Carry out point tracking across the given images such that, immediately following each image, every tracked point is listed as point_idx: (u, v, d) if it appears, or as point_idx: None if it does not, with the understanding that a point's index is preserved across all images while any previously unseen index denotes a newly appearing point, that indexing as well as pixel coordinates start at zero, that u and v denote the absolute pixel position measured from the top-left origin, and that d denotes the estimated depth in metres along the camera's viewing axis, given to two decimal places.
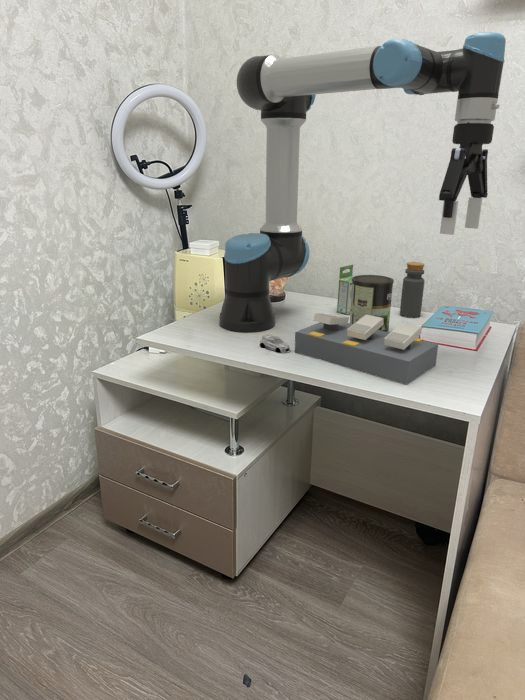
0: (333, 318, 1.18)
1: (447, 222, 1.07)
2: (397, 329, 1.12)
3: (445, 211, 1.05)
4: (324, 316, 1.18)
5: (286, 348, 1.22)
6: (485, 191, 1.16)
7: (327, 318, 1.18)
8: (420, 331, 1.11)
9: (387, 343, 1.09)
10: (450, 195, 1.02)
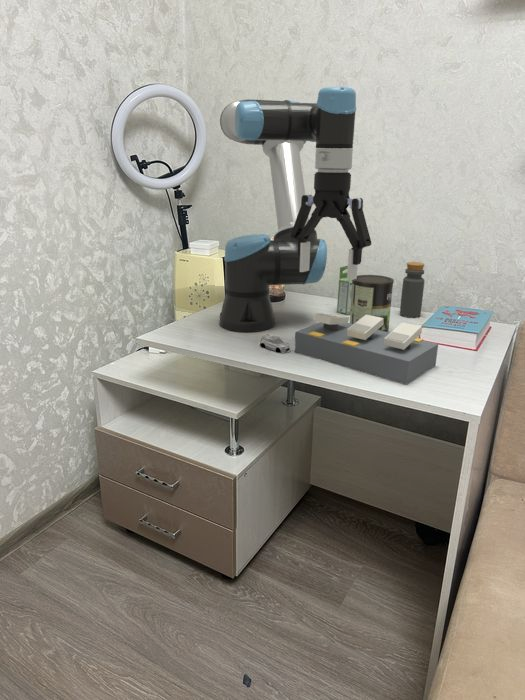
0: (333, 318, 1.18)
1: None
2: (397, 329, 1.12)
3: None
4: (324, 316, 1.18)
5: (286, 348, 1.22)
6: (361, 244, 1.07)
7: (327, 318, 1.18)
8: (420, 331, 1.11)
9: (387, 343, 1.09)
10: None
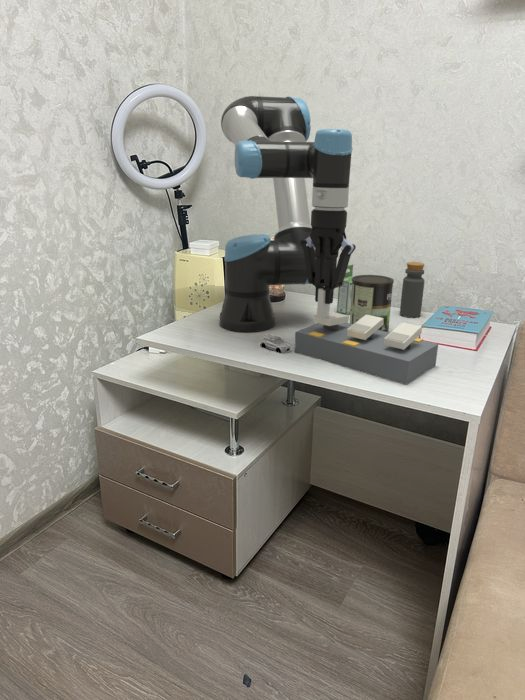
0: (333, 319, 1.18)
1: None
2: (397, 329, 1.12)
3: None
4: (324, 318, 1.18)
5: (287, 348, 1.22)
6: (332, 284, 1.13)
7: (327, 320, 1.18)
8: (420, 331, 1.11)
9: (387, 343, 1.09)
10: None
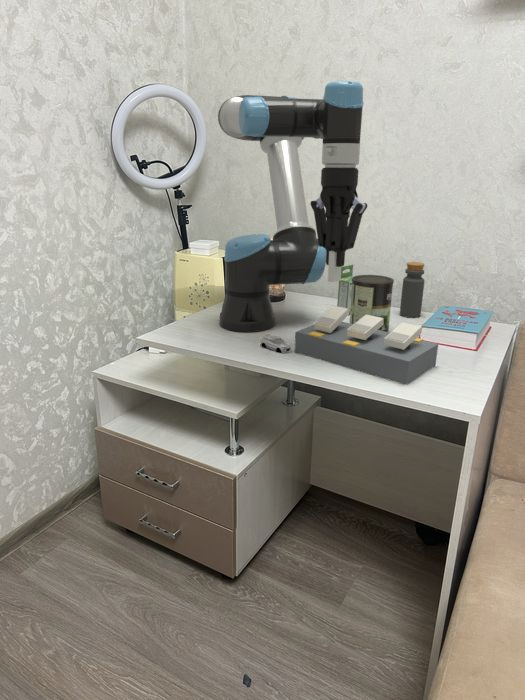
0: (332, 325, 1.18)
1: None
2: (397, 329, 1.12)
3: None
4: (323, 326, 1.19)
5: (287, 348, 1.22)
6: (343, 245, 1.10)
7: (326, 328, 1.18)
8: (420, 331, 1.11)
9: (387, 343, 1.09)
10: None
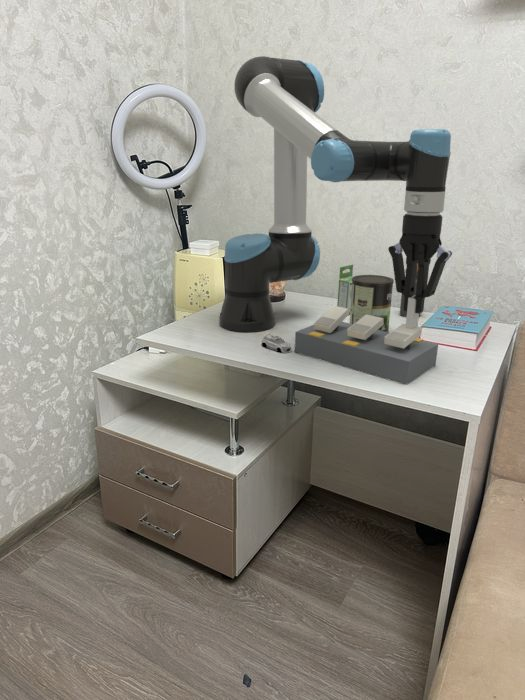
0: (332, 325, 1.18)
1: None
2: (397, 329, 1.12)
3: None
4: (323, 326, 1.19)
5: (287, 348, 1.22)
6: (425, 292, 1.07)
7: (326, 328, 1.18)
8: (420, 332, 1.12)
9: (387, 342, 1.09)
10: None
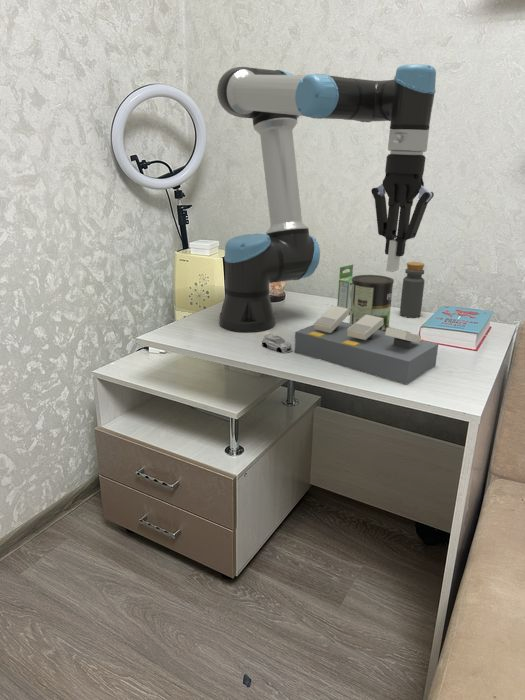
0: (332, 325, 1.18)
1: None
2: None
3: None
4: (323, 326, 1.19)
5: (287, 348, 1.22)
6: (406, 234, 1.08)
7: (326, 328, 1.18)
8: (419, 339, 1.12)
9: (388, 333, 1.08)
10: None
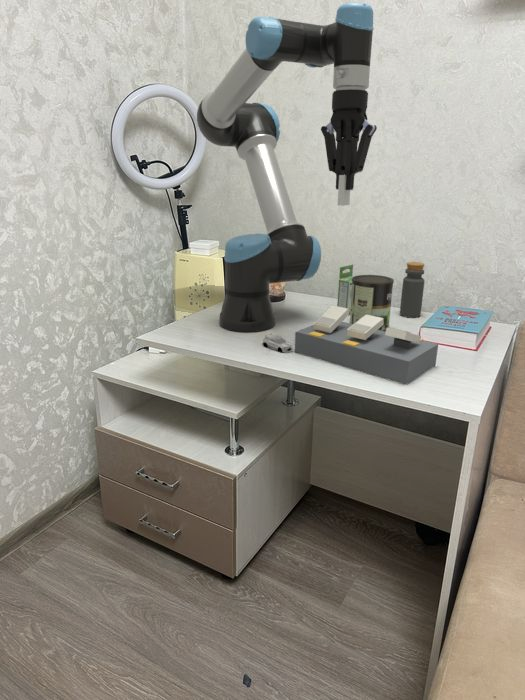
0: (332, 325, 1.18)
1: None
2: None
3: None
4: (323, 326, 1.19)
5: (288, 348, 1.22)
6: (353, 167, 1.15)
7: (326, 328, 1.18)
8: (419, 339, 1.12)
9: (388, 333, 1.08)
10: None
